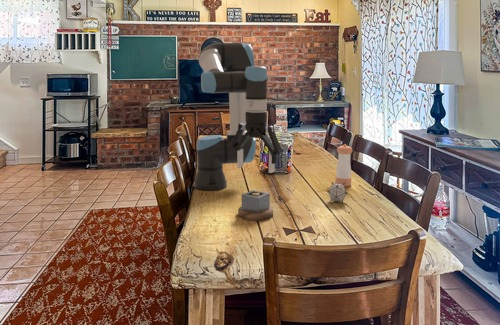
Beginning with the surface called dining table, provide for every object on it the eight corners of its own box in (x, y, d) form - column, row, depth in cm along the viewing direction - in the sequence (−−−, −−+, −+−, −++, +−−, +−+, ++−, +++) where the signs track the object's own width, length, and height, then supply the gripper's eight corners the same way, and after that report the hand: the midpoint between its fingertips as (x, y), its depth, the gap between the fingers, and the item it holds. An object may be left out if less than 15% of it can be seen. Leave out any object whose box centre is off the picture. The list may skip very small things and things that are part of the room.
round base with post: (231, 216, 157) (231, 195, 156) (250, 207, 168) (250, 187, 166) (261, 223, 150) (261, 201, 149) (279, 213, 161) (279, 192, 159)
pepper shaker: (348, 187, 196) (350, 146, 192) (332, 185, 200) (334, 144, 196) (353, 183, 202) (355, 143, 198) (338, 181, 206) (340, 142, 202)
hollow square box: (241, 210, 158) (241, 194, 156) (252, 205, 164) (252, 190, 163) (258, 214, 154) (258, 198, 152) (269, 208, 160) (269, 193, 159)
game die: (331, 209, 177) (320, 188, 179) (349, 201, 178) (338, 180, 180) (336, 205, 168) (324, 183, 171) (355, 196, 169) (343, 174, 172)
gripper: (221, 110, 155) (222, 167, 159) (281, 114, 141) (280, 176, 146) (233, 108, 161) (233, 163, 165) (292, 112, 147) (290, 172, 152)
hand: (255, 169), depth 156 cm, fingers open, 13 cm apart
